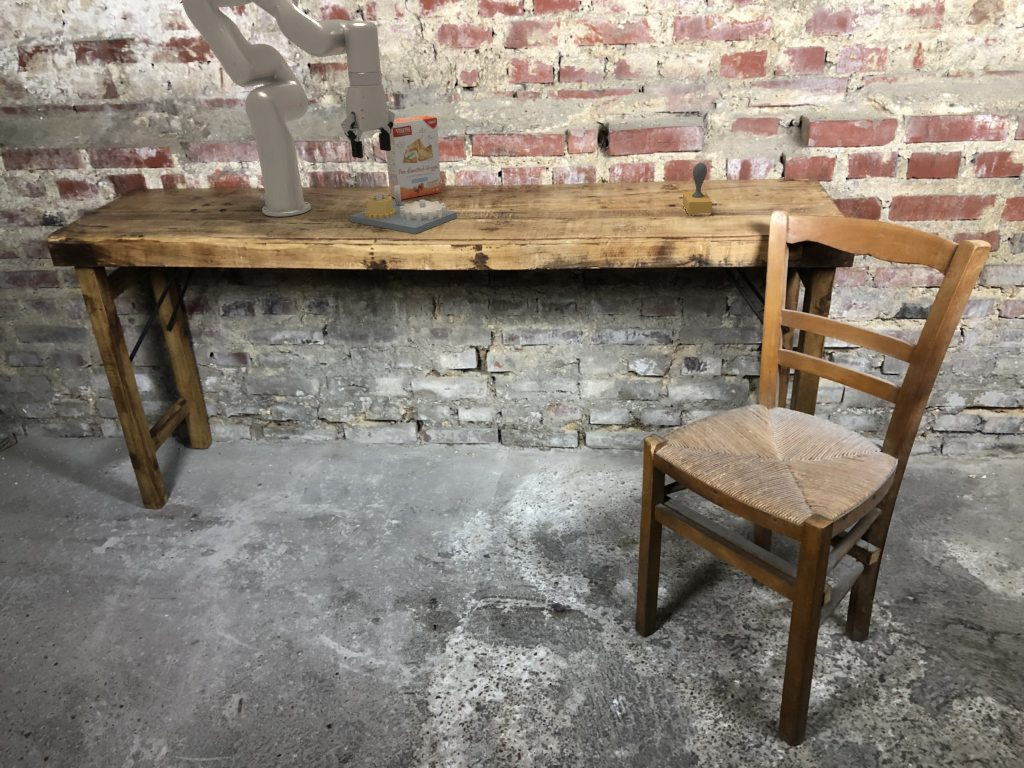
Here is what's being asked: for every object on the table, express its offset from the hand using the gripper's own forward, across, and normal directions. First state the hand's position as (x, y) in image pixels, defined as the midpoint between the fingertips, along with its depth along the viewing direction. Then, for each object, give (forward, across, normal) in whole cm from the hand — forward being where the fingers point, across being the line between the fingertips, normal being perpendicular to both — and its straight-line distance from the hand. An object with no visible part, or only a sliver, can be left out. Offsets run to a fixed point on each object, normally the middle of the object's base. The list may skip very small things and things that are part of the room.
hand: (371, 153), depth 187 cm
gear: (+15, 0, +1) cm, 15 cm away
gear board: (+16, -3, +6) cm, 18 cm away
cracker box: (+17, -24, -8) cm, 31 cm away
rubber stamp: (+15, -46, +67) cm, 83 cm away
